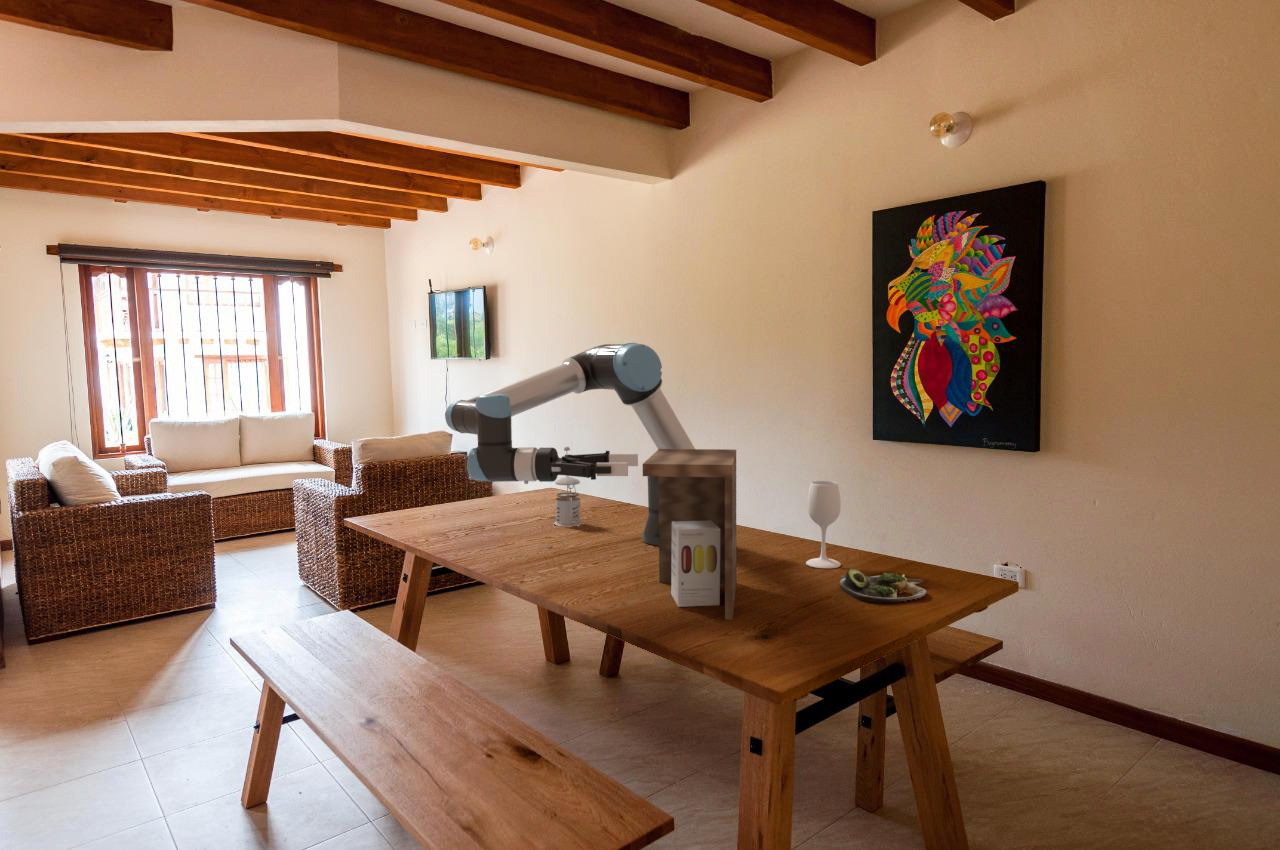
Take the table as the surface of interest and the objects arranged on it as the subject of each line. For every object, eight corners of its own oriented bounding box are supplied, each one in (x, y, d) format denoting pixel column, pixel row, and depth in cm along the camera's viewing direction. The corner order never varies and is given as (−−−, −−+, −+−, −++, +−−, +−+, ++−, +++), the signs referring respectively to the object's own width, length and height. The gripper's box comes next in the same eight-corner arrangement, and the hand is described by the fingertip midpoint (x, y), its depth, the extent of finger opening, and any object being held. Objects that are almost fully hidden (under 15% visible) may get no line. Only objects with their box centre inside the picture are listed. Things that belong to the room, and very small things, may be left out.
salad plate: (903, 578, 186) (903, 559, 186) (948, 600, 169) (948, 580, 168) (828, 584, 182) (828, 564, 181) (866, 607, 164) (867, 586, 164)
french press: (549, 527, 245) (547, 448, 243) (559, 519, 257) (557, 444, 255) (579, 527, 244) (578, 448, 242) (588, 520, 255) (586, 444, 253)
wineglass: (841, 569, 193) (842, 485, 191) (806, 568, 194) (806, 485, 193) (840, 560, 201) (841, 480, 199) (805, 559, 203) (806, 479, 201)
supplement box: (677, 607, 165) (676, 529, 163) (670, 594, 174) (669, 520, 172) (721, 605, 166) (721, 527, 164) (712, 592, 175) (711, 518, 174)
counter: (644, 616, 159) (642, 463, 157) (660, 580, 185) (659, 449, 182) (732, 619, 157) (732, 464, 154) (736, 583, 182) (736, 449, 180)
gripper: (553, 472, 184) (641, 472, 181) (521, 491, 160) (623, 492, 157) (552, 441, 184) (641, 440, 180) (520, 455, 159) (622, 455, 156)
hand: (633, 464), depth 169 cm, fingers open, 13 cm apart
